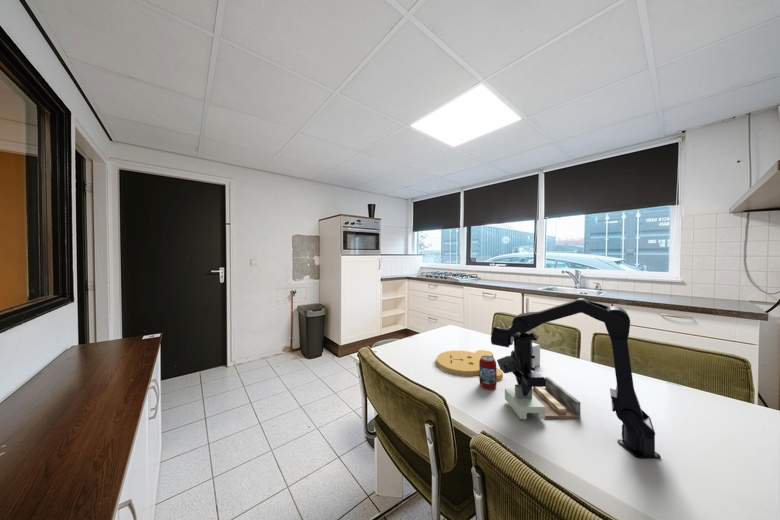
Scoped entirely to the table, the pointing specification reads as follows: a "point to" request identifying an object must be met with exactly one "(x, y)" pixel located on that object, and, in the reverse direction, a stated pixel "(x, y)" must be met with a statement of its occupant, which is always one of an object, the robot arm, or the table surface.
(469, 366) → the decorative plaque
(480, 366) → the beverage can
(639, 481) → the table surface
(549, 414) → the cleat board
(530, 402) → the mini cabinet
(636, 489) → the table surface
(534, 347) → the small box
